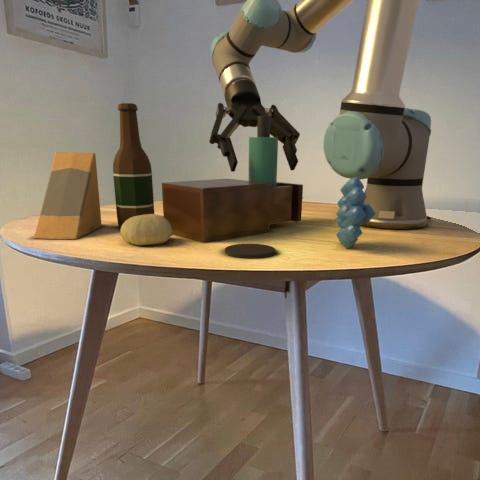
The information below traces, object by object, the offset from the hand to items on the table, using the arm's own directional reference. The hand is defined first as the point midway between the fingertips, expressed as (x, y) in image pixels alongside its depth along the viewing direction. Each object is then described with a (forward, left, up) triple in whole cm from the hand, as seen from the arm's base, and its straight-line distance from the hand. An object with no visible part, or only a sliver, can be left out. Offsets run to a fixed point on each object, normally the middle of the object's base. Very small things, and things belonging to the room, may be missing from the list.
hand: (265, 166), depth 97 cm
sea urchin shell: (+28, -1, -12) cm, 31 cm away
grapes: (+3, +26, -12) cm, 29 cm away
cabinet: (+12, -1, -12) cm, 17 cm away
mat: (+19, +17, -12) cm, 28 cm away
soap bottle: (-1, -1, -10) cm, 10 cm away
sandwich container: (+35, -20, -12) cm, 42 cm away
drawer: (-1, -1, -11) cm, 12 cm away
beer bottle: (+22, -16, -12) cm, 30 cm away
